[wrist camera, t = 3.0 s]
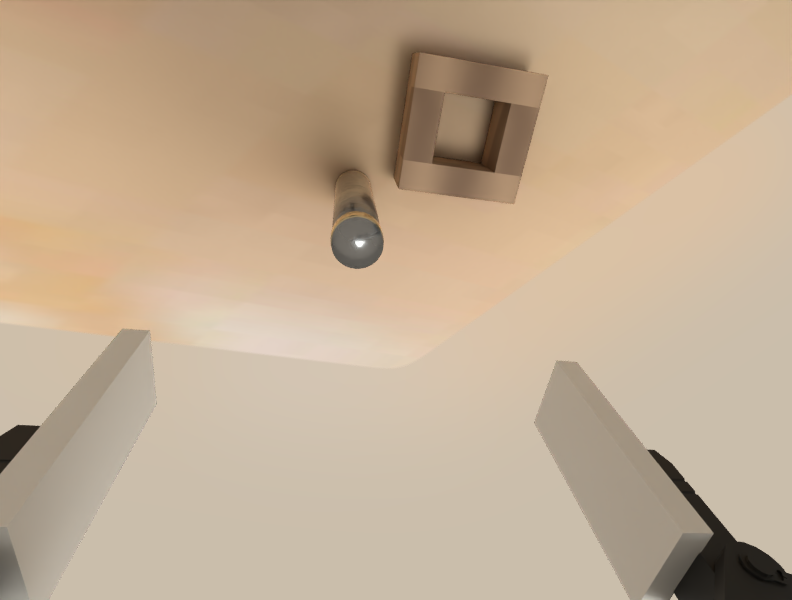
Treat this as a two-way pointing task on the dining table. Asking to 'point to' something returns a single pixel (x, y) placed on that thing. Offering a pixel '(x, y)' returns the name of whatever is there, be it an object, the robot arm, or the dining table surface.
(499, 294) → the dining table surface
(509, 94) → the square wooden frame
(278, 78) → the dining table surface
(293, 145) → the dining table surface
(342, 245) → the metal cylinder
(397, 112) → the dining table surface
